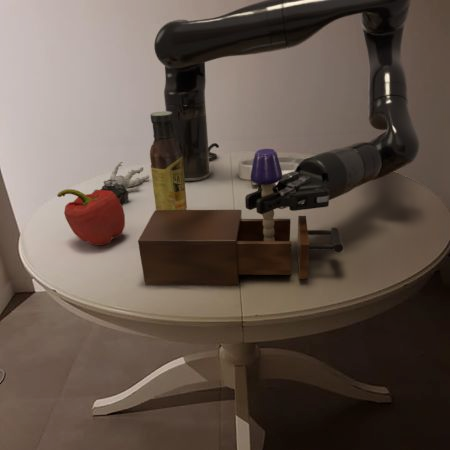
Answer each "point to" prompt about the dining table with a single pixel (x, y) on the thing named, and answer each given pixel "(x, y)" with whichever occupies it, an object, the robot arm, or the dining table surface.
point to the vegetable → (95, 216)
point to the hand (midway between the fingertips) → (252, 205)
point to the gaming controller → (117, 191)
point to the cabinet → (191, 247)
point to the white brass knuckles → (286, 162)
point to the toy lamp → (266, 183)
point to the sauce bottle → (166, 165)
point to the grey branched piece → (126, 179)
